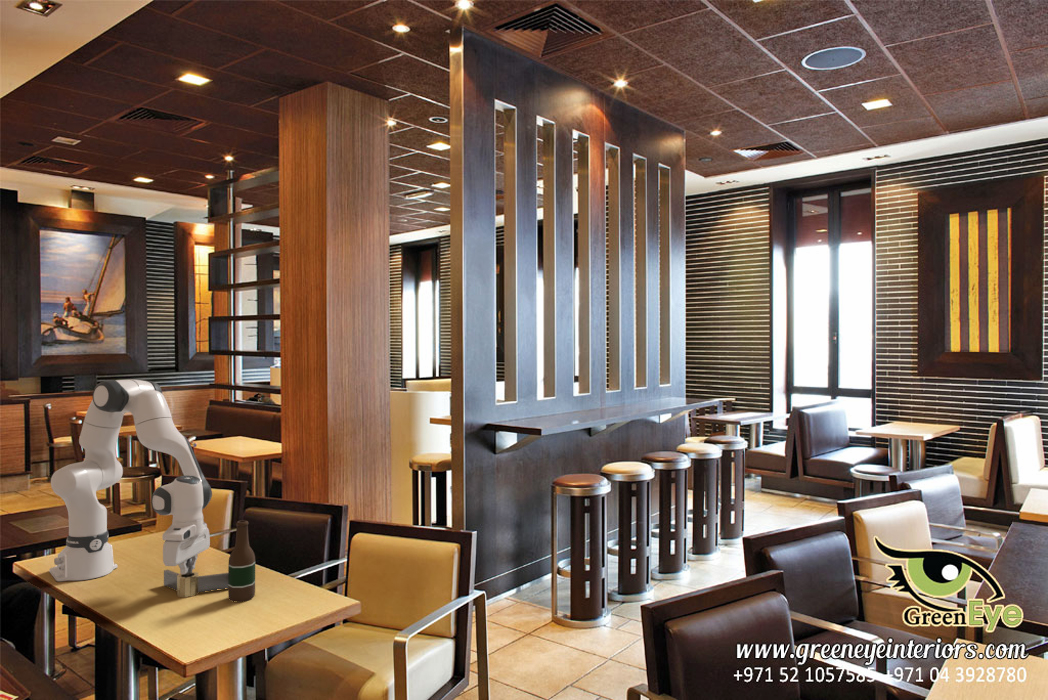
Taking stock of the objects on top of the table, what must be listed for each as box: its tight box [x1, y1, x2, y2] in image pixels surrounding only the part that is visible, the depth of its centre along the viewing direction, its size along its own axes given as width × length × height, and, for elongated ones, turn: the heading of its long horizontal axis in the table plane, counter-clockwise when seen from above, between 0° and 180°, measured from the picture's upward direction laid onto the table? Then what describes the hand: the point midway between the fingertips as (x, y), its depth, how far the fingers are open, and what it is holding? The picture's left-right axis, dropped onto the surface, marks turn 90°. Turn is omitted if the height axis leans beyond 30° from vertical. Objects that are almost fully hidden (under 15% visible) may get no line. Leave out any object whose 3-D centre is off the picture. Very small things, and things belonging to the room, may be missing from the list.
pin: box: [184, 557, 193, 577], centre depth 218 cm, size 2×2×9 cm
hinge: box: [163, 569, 228, 598], centre depth 223 cm, size 21×15×6 cm
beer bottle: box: [227, 519, 256, 603], centre depth 214 cm, size 8×8×24 cm
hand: (187, 571), depth 218 cm, fingers closed on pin, 2 cm apart
